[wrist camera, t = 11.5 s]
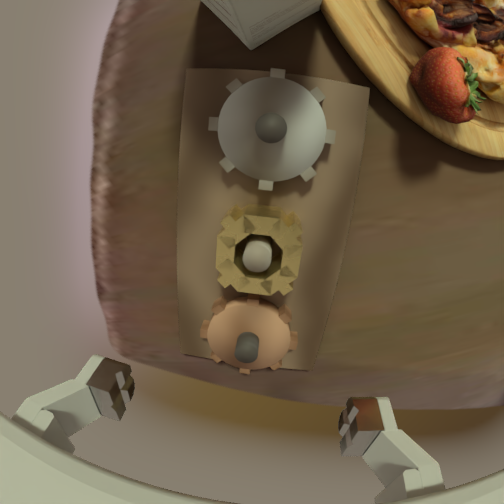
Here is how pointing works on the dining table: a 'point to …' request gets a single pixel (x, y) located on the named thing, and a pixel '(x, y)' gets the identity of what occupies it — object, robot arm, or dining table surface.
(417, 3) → the wooden plate with food
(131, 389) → the robot arm
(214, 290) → the gear board
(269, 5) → the supplement box
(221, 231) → the brass gear
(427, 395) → the dining table surface
